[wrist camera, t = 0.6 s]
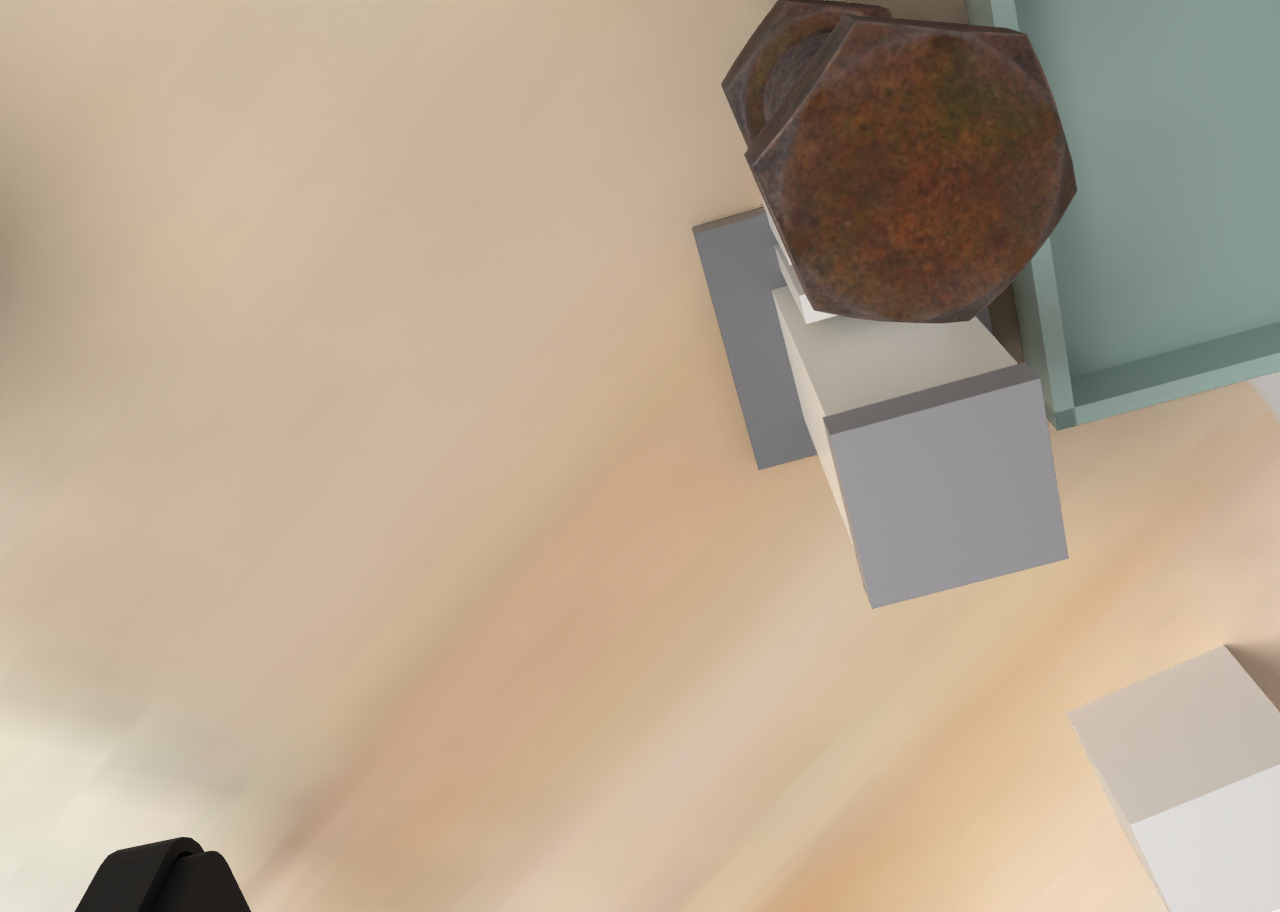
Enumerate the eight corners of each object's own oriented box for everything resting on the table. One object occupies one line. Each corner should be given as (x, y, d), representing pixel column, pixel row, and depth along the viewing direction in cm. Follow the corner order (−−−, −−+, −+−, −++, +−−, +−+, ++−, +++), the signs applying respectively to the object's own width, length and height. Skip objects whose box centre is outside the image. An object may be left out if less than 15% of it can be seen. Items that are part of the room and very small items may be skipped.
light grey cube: (1064, 710, 44) (1129, 824, 39) (1222, 642, 43) (1312, 750, 38) (1118, 822, 46) (1187, 945, 41) (1269, 760, 45) (1360, 877, 40)
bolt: (787, -75, 33) (918, -58, 19) (928, 35, 34) (1145, 124, 20) (664, 107, 35) (703, 240, 21) (803, 205, 36) (924, 390, 22)
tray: (956, -55, 33) (982, -52, 31) (1326, -168, 32) (1380, -174, 30) (1030, 399, 39) (1057, 430, 36) (1346, 314, 38) (1393, 340, 36)
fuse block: (535, -343, 30) (496, -480, 19) (848, -450, 29) (990, -654, 19) (755, 459, 39) (812, 668, 29) (997, 393, 39) (1148, 582, 28)
